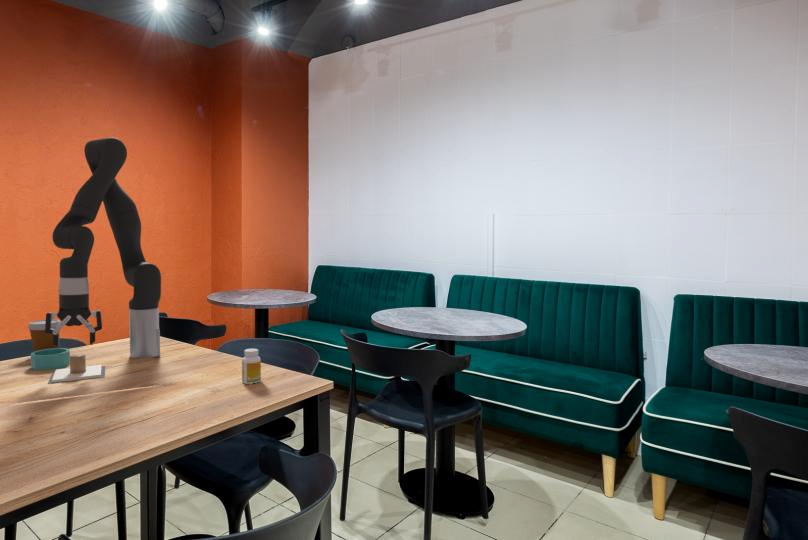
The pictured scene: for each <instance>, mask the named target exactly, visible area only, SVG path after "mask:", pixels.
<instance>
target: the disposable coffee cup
mask: <svg viewBox="0 0 808 540" xmlns="http://www.w3.org/2000/svg"><path fill="white" fill-rule="evenodd" d="M60 323H61V320H60V319H55V318H54V319H53V320H52V323H51V329H56V327H57V326H58V325H59V324H60ZM45 324H46V319H41V320H40V319H39V320H32V321H30V322H29V323H28V326H27V328H28V330H29V334H30V338H31V343H32V349H33V352H35V351H39V350H44V349H53V348H59V347H56V345H53V335H52V334H50V333H46V332H45ZM58 334H59V335H60V331H59V332H58Z"/></svg>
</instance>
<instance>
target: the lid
mask: <svg viewBox="0 0 808 540" xmlns="http://www.w3.org/2000/svg"><path fill="white" fill-rule="evenodd" d="M102 366H103V365H102V364H97V365H87V363H86V354H83V353H79V354H72V355H70V365H69V367H67V368H65V367H64V368H58V369H55V374H54V376H53V379H52V383H54V382H63V381H72V380H80V379H89V378H98V377H101V369H102ZM98 379H99V378H98ZM72 382H73V381H72Z"/></svg>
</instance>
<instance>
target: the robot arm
mask: <svg viewBox="0 0 808 540" xmlns="http://www.w3.org/2000/svg"><path fill="white" fill-rule="evenodd" d="M83 150H84V156H85V160H86V163H87V165H88V168H89V170H90V172H91V176H90V177H89V178H88V179H87V180H86V181H85V182H84V184H83V185H82V186H81V187H80V188H79V190H78V191H77V193H76V194H75V196H74V199H73V201H72V202H71V206H70V208H69V210H68V212H67V213H65V215H63V217H62V219H60V220H59V222H58V223H57V224H56V226H55V227H54V229H53V231H52V236H51V237H52V242H53V244H54V245H55V247H57V248H59V249H62V250H73V251H72V254H71V256H68V257H63V258H62V259H60V261H59V282H58V312H52V311H47V313H46V314H45V320H46V324H45V332H46V333H50V334H52V335H53V345H56V347H58V348H60V332H61V330H62V329H64V326H67V327H73V326H76V327H81V326H82V325H83V326H84V327H85V328H86V329H87V330H88V331H89V346H92V345H93V344H95V342H96V332H98V331H101V330H102V329H103V320H102V310H100V309H97V310H92V311H91V310H90V286H89V285H90V284H89V278H88V276H89V275H88V274H89V273H88V272H89V271H88V269H89V267H88V264H89V261H90V258H91V254H92V250H93V247H94V244H95V236H94V233H93V231H92V229H90V227H88V226H86V225H89V224H92V223H94V222H95V220H96V219H97V216H98V213H99V211H100V209H101V206H102V202H103V207H104V209H105V212H106V213H105V214H106V216H107V219H108V223H109V226H110V229H111V231H112V235H113V238H114V241H115V243H116V246H117V249H118V253H119V255H120V261H121V267H122V273H123V276H124V279H125V282H126V283H127V284H128V285H130V287H132V288H133V295H132V298H131V299H130V300H129V301H128V317H129V320H128V322H129V325H128V326H129V353H130V354H129V357H130V358H132V359H149V358H152V359H153V358H156V357H161V330H160V312H159V311H160V310H159V309H160V307H159V304H160V301H161V298H162V297H161V296H162V273H161V271H160V269H159V267H158V266H157V265H156V264H154V263H151V262H147V261H146V259H145V255H144V253H143V250H142V246H141V245H142V244H141V242H142V241H141V238H142V221H141V218H140V214H139V211H138V208H137V205H136V203H135V202H134V200H133V199H132V198H131V196H130V195H129V194H128V193H127V192H126V191H125V190H124V189H123V188H122V186H121V185H120V184H119V183H118V181H117V178H116V177H117V175H118V174H119V172H120V171H121V170H122V168H123V166H124V164H125V163H126V160H127V157H128V149H127V146H126V145H125V144H124V142H123V141H122V140H120V139H119V138H117V137H105V138H98V139H92V140H89V141H87V142H86V143H85V146H84V149H83ZM91 316H92V317H93V318H94V319H96V326H93V325H92V323H91V322H90V321H89V320H88V319H89V318H90V317H91ZM56 317H57V318H58V320H60V324H59V325H58V326H57V327H56V329H51V323H52V320H53V319H54V320H55V318H56ZM58 332H59V334H58Z"/></svg>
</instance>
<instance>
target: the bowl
mask: <svg viewBox="0 0 808 540" xmlns="http://www.w3.org/2000/svg"><path fill="white" fill-rule="evenodd" d="M70 351H71V349H70V348H65V347H58V348H53V349H44V350H39V351H35V352H34V351H33V352H31V353H30V366H31V370H34V371H51V370H56V369H64V368H65V367H68V366H70V356H71V352H70Z"/></svg>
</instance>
